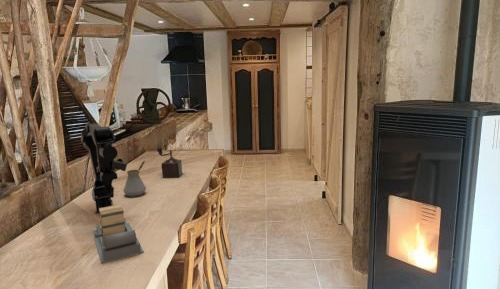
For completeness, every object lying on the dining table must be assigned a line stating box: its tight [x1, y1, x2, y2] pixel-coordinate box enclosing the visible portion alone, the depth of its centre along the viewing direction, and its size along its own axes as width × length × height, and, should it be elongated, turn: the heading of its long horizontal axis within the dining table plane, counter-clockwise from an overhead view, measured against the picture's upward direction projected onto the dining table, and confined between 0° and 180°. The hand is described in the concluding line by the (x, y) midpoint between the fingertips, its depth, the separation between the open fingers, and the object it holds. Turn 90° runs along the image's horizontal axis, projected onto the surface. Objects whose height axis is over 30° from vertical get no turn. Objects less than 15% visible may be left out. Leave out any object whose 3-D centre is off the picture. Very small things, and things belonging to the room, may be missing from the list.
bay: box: [92, 217, 144, 264], centre depth 133 cm, size 29×15×10 cm, turn 29°
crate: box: [98, 203, 125, 236], centre depth 140 cm, size 7×8×10 cm
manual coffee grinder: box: [156, 146, 183, 179], centre depth 221 cm, size 16×11×18 cm
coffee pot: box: [123, 160, 148, 198], centre depth 193 cm, size 21×12×15 cm, turn 173°
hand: (108, 191), depth 154 cm, fingers open, 3 cm apart
